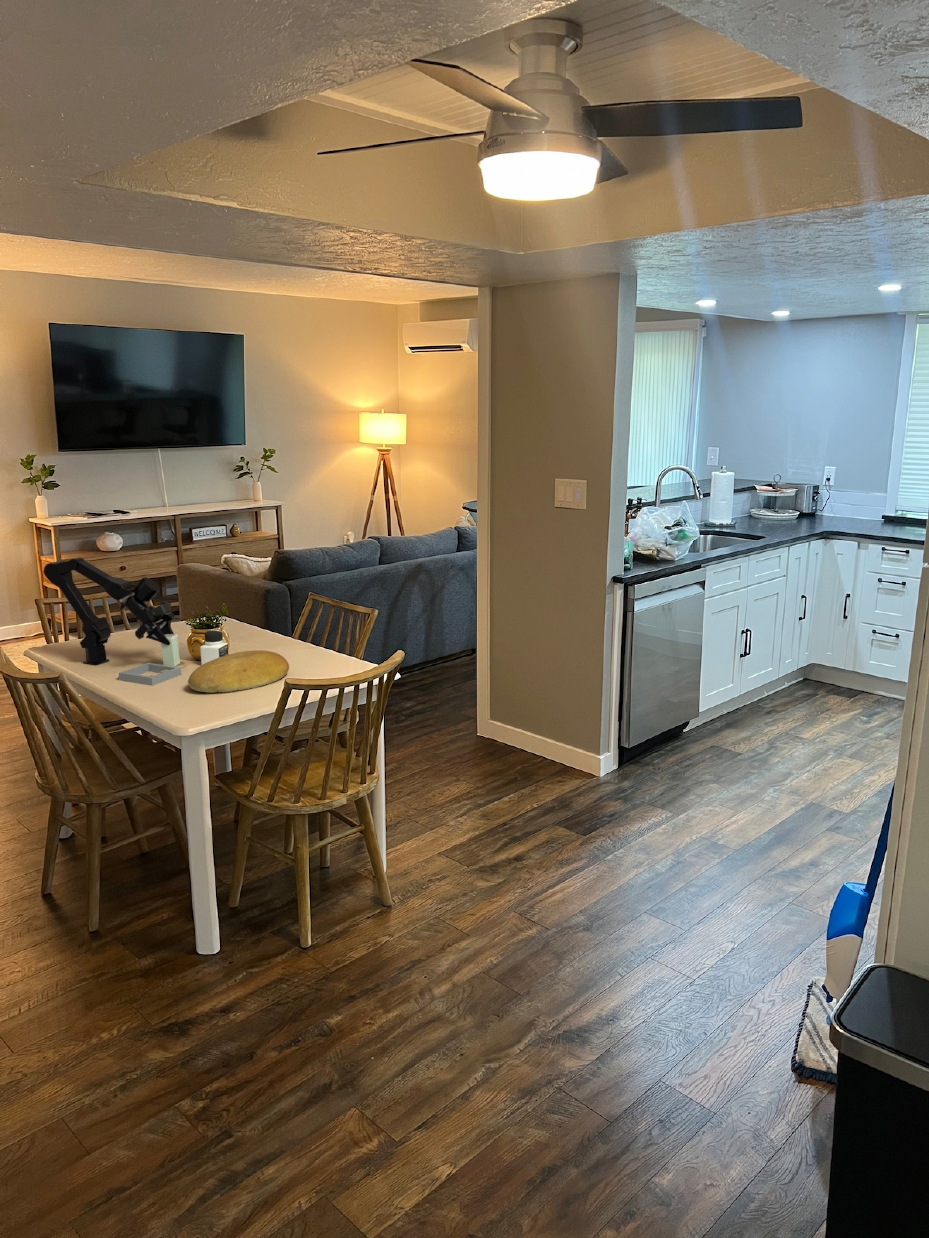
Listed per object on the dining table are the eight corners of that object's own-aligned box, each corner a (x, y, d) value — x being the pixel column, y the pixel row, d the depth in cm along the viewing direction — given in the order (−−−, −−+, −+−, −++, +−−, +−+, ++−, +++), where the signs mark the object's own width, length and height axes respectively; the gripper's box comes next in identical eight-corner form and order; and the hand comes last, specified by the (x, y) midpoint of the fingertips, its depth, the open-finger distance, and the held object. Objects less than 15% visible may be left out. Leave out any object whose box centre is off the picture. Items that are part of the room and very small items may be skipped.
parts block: (160, 677, 307) (160, 671, 307) (166, 675, 310) (166, 669, 309) (167, 678, 306) (167, 672, 305) (173, 676, 309) (173, 670, 308)
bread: (179, 689, 294) (176, 659, 292) (269, 667, 319) (267, 639, 317) (210, 701, 282) (208, 670, 279) (301, 677, 307) (300, 648, 305)
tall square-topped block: (163, 666, 317) (159, 637, 315) (169, 663, 321) (166, 634, 319) (174, 666, 316) (171, 637, 314) (180, 663, 320) (177, 634, 318)
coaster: (149, 668, 317) (149, 667, 317) (170, 661, 325) (170, 660, 325) (172, 671, 312) (171, 670, 312) (192, 664, 321) (192, 663, 321)
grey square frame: (119, 680, 303) (118, 672, 303) (148, 669, 315) (148, 662, 315) (152, 685, 297) (151, 678, 297) (181, 674, 309) (180, 667, 309)
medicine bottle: (220, 667, 318) (218, 634, 315) (201, 666, 319) (198, 633, 316) (229, 661, 325) (227, 629, 322) (210, 660, 326) (208, 628, 323)
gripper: (140, 600, 305) (173, 634, 305) (168, 589, 323) (199, 621, 323) (121, 622, 308) (153, 655, 309) (150, 610, 326) (180, 641, 327)
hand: (172, 642), depth 317 cm, fingers closed on tall square-topped block, 4 cm apart
